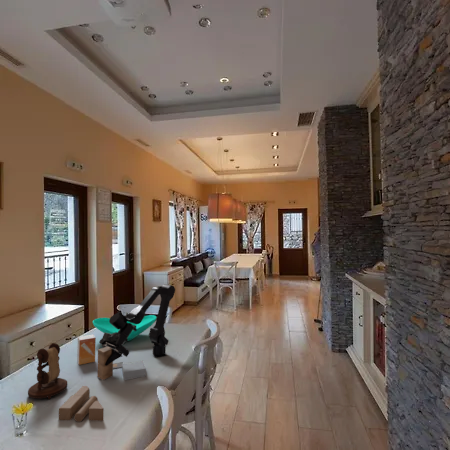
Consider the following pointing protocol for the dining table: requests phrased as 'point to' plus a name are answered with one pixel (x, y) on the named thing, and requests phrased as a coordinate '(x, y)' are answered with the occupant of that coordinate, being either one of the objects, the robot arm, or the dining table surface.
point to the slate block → (133, 370)
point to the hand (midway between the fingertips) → (102, 363)
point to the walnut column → (104, 370)
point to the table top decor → (147, 321)
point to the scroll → (48, 374)
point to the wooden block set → (75, 407)
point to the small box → (86, 349)
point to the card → (117, 365)
